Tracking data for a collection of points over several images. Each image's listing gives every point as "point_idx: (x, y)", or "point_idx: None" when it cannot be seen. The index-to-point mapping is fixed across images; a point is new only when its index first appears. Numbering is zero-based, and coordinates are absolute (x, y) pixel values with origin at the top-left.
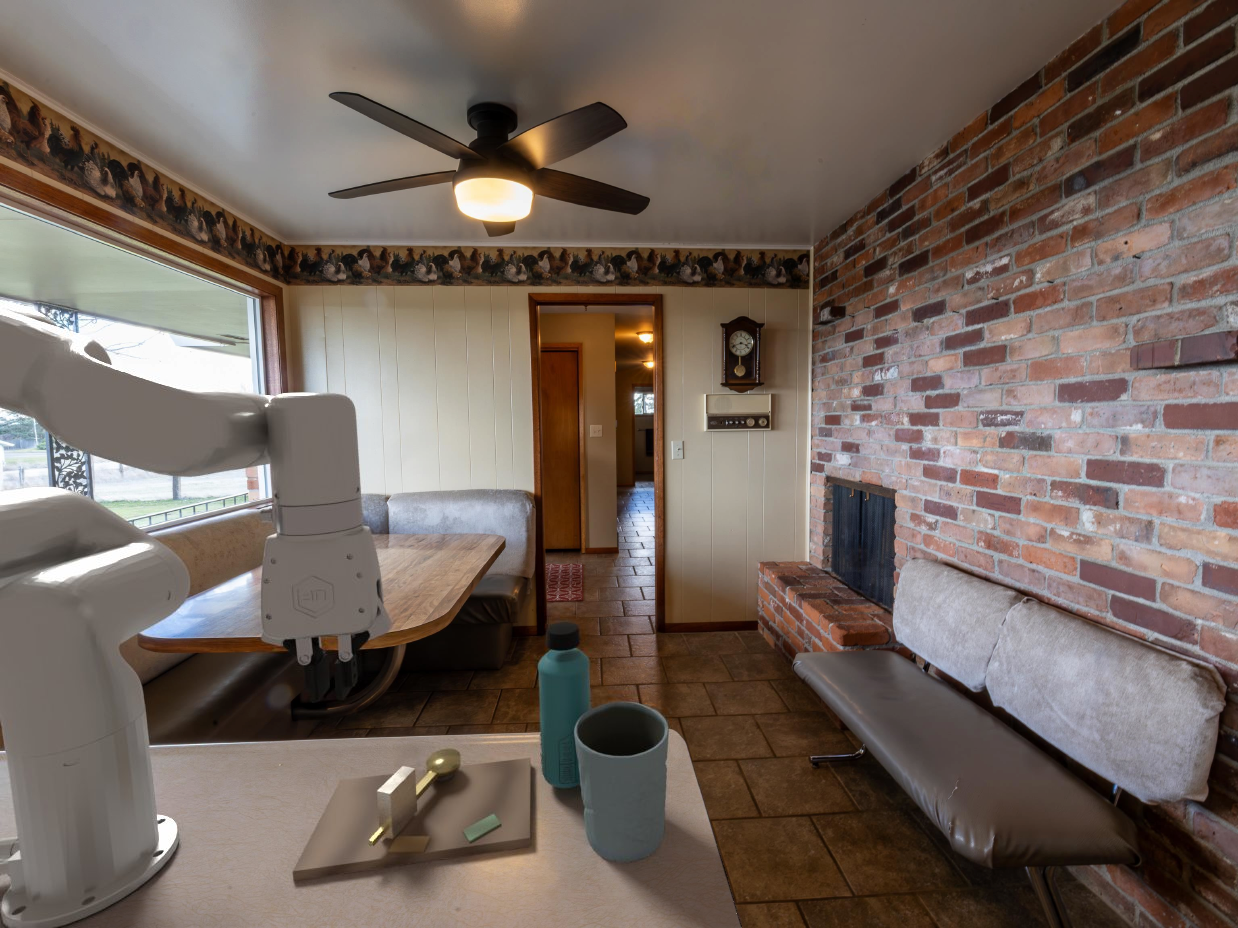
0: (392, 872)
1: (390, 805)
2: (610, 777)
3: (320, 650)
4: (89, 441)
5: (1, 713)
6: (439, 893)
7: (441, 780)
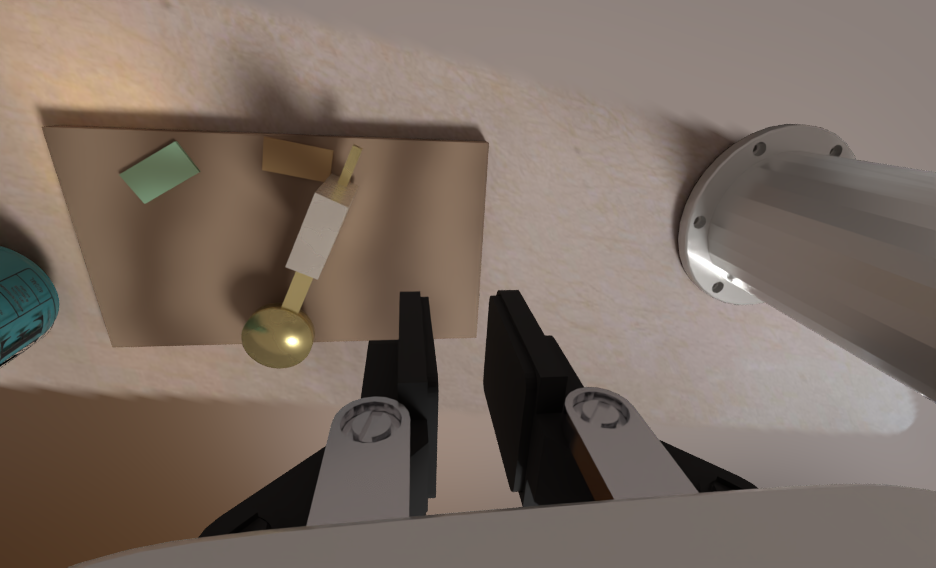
0: (322, 121)
1: (321, 187)
2: None
3: (541, 488)
4: None
5: None
6: (216, 51)
7: None
